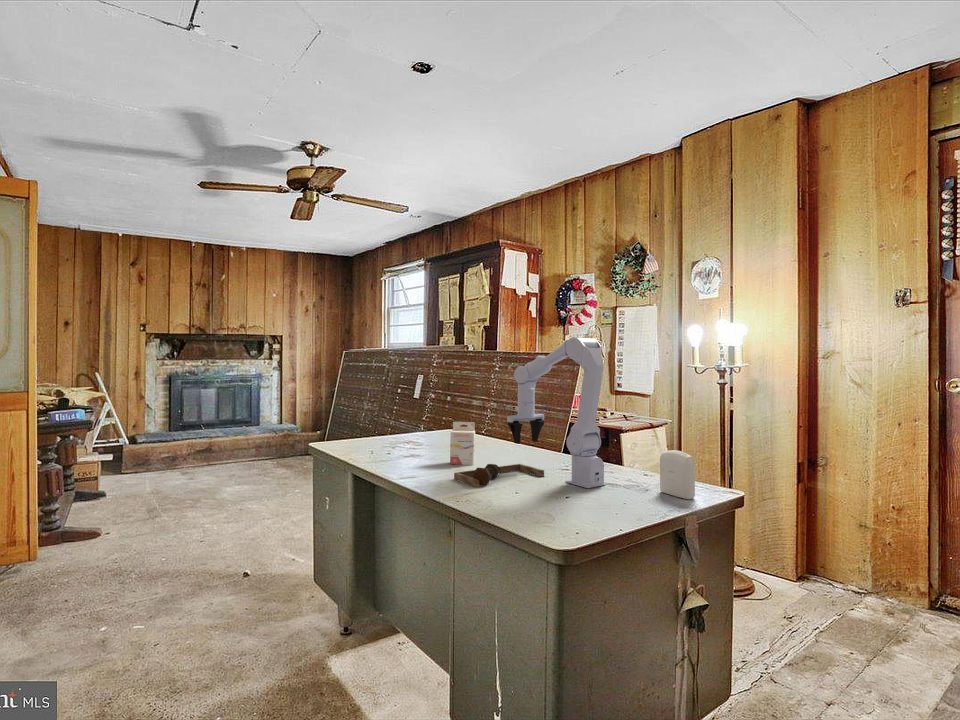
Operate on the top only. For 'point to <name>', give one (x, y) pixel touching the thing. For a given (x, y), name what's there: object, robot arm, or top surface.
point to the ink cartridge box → (462, 444)
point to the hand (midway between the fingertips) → (525, 442)
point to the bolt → (486, 474)
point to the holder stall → (468, 479)
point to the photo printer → (677, 474)
